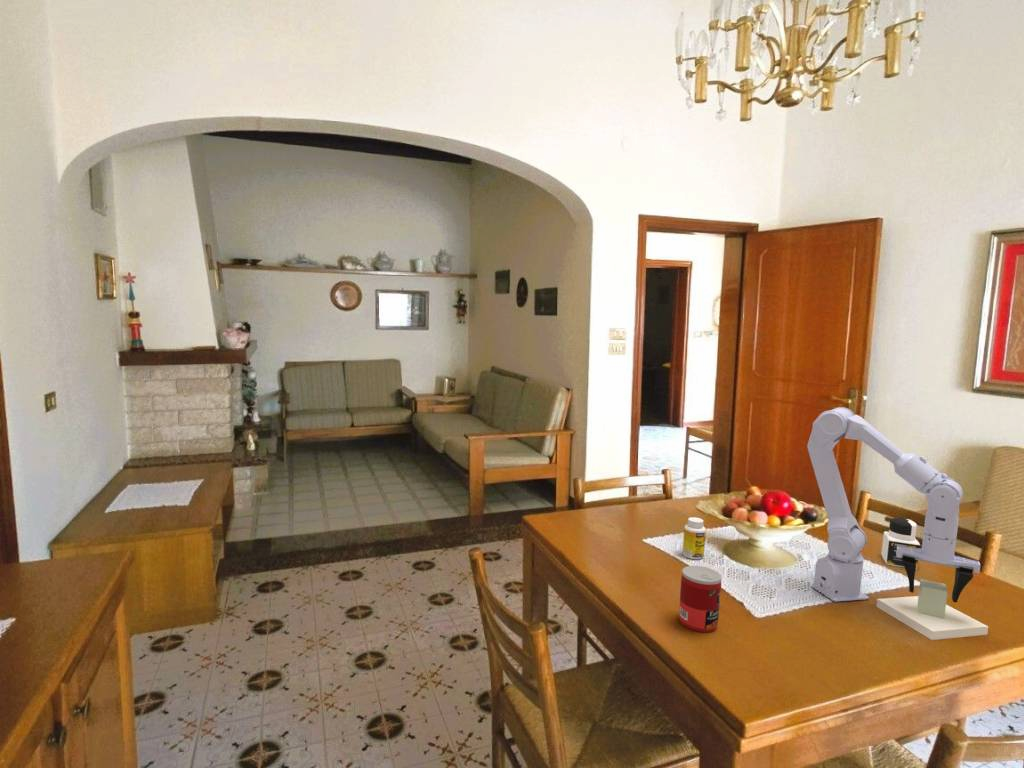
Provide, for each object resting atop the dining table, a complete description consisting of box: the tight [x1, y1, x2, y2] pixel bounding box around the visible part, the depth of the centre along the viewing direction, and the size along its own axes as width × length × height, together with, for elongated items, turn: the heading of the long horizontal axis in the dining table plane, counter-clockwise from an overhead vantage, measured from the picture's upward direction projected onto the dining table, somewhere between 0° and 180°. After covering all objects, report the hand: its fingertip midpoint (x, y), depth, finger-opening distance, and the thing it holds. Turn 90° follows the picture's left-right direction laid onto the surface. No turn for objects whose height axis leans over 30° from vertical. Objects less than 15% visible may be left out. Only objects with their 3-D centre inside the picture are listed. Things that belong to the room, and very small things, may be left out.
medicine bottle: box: [881, 517, 921, 570], centre depth 159 cm, size 7×7×12 cm
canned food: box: [678, 565, 722, 633], centre depth 123 cm, size 8×8×11 cm
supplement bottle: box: [682, 517, 707, 560], centre depth 159 cm, size 6×6×10 cm
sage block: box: [918, 578, 948, 619], centre depth 128 cm, size 4×4×6 cm
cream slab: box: [875, 595, 989, 641], centre depth 128 cm, size 14×14×2 cm
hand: (932, 595), depth 128 cm, fingers open, 7 cm apart
